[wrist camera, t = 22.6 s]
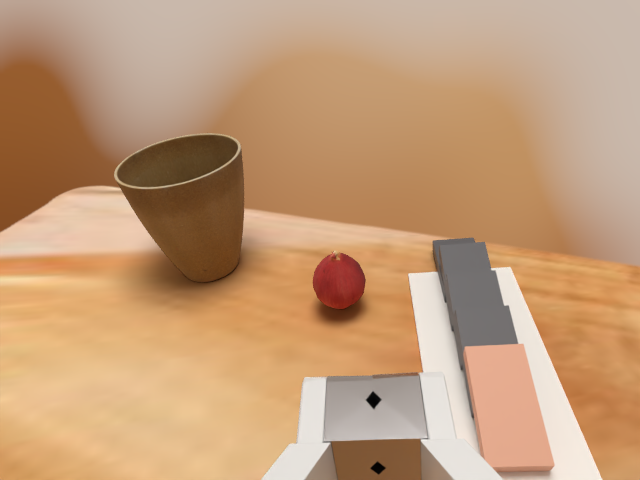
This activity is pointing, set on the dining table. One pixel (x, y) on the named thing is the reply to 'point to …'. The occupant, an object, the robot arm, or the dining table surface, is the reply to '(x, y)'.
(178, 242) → the plant pot
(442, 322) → the mat
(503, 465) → the terracotta domino
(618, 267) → the dining table surface
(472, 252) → the domino
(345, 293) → the onion
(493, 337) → the domino
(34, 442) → the dining table surface
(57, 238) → the dining table surface
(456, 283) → the domino
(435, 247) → the domino
